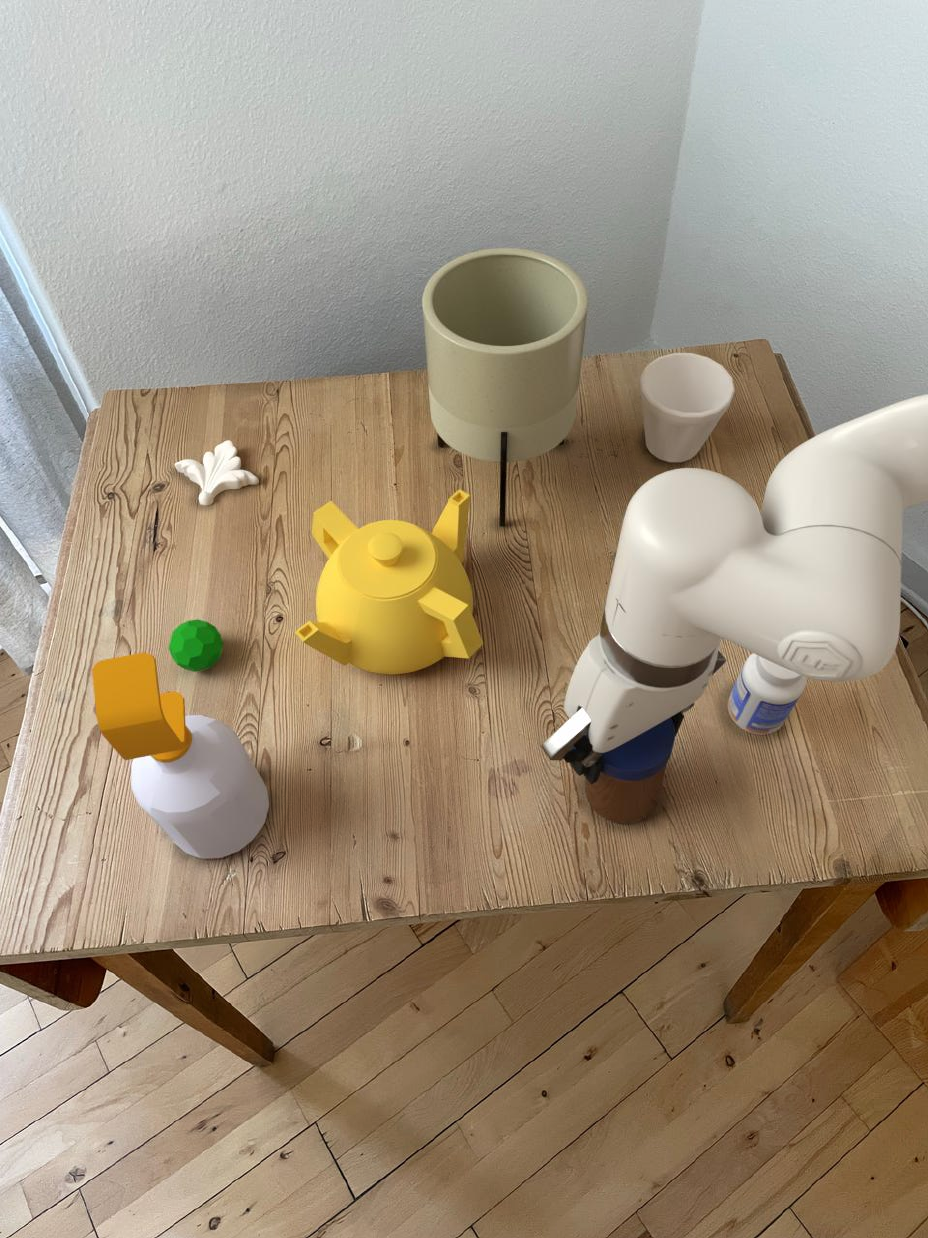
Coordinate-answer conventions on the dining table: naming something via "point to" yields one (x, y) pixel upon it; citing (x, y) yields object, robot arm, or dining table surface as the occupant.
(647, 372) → the cup
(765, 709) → the pill bottle
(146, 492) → the dining table surface
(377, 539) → the teapot
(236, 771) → the soap bottle
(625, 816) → the jam jar
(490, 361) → the planter
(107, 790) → the dining table surface
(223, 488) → the acanthus leaf ornament
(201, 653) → the polyhedron
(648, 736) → the jar lid
